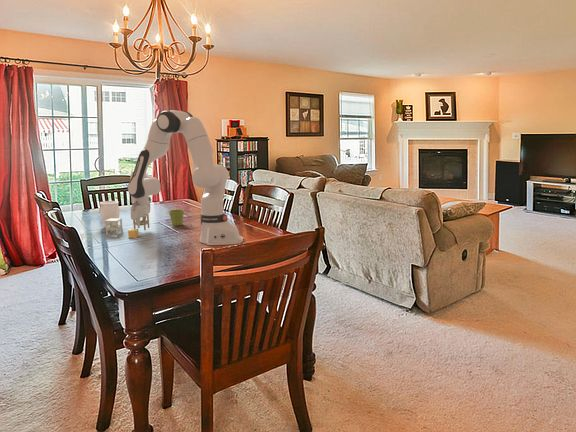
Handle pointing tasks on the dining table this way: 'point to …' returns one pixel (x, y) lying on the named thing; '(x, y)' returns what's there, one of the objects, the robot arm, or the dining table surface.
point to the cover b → (114, 227)
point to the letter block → (133, 233)
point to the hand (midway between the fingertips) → (141, 224)
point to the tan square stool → (143, 221)
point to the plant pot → (177, 217)
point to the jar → (109, 211)
